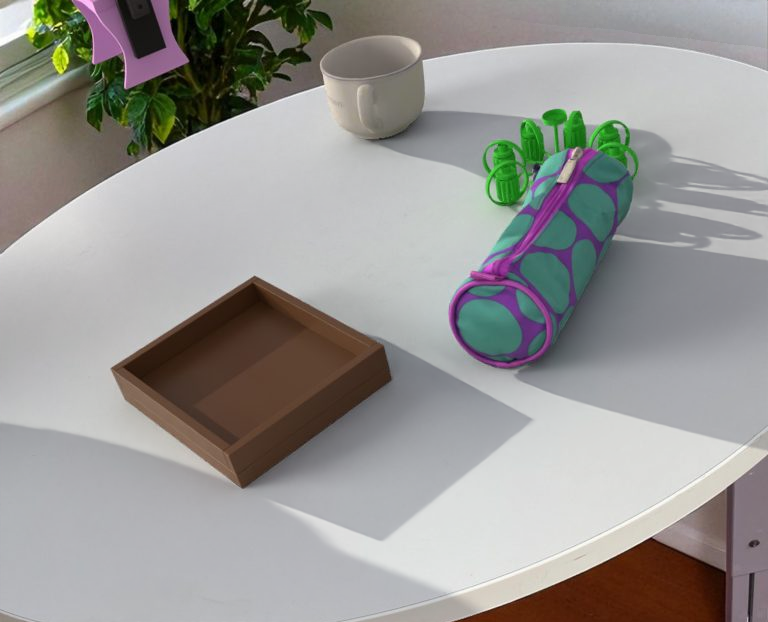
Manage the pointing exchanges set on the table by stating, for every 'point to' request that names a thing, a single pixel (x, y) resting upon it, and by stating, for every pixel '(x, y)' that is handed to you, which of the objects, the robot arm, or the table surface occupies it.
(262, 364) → the brown wooden tray
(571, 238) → the pencil case
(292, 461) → the table surface
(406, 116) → the teacup
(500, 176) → the chandelier
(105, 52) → the toy chair
